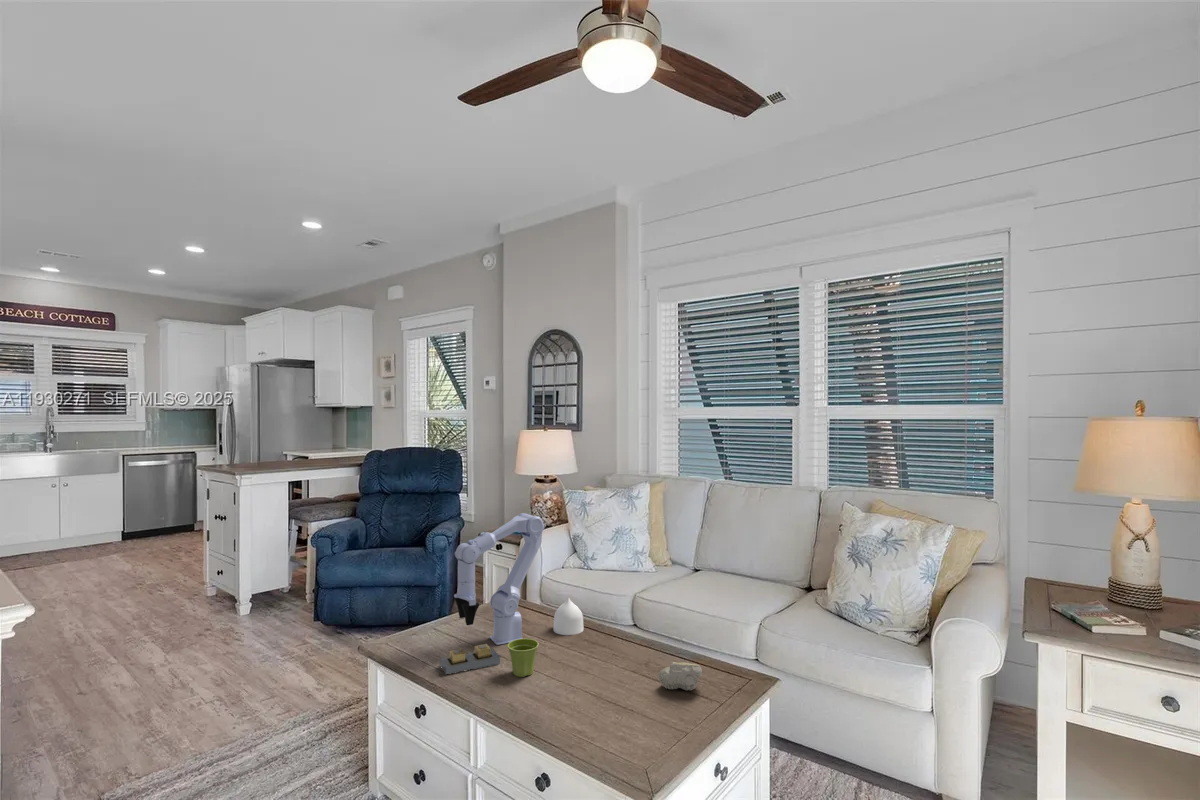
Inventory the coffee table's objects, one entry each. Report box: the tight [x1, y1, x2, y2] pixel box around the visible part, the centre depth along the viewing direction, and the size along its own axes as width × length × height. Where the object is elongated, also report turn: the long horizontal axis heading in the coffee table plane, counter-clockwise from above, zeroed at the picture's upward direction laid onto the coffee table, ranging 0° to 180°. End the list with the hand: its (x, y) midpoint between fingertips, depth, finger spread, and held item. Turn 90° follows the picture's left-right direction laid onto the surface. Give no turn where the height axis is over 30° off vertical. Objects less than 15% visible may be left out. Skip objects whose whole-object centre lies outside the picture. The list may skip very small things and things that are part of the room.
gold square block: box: [448, 648, 466, 665], centre depth 186 cm, size 4×4×5 cm
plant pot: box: [507, 638, 540, 678], centre depth 183 cm, size 9×9×9 cm
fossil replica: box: [657, 661, 703, 692], centre depth 173 cm, size 12×8×10 cm
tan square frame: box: [474, 643, 492, 660], centre depth 190 cm, size 4×4×5 cm
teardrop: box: [552, 596, 585, 636], centre depth 219 cm, size 11×11×12 cm
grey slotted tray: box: [439, 648, 501, 675], centre depth 188 cm, size 17×7×2 cm, turn 119°
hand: (466, 621), depth 201 cm, fingers open, 7 cm apart
